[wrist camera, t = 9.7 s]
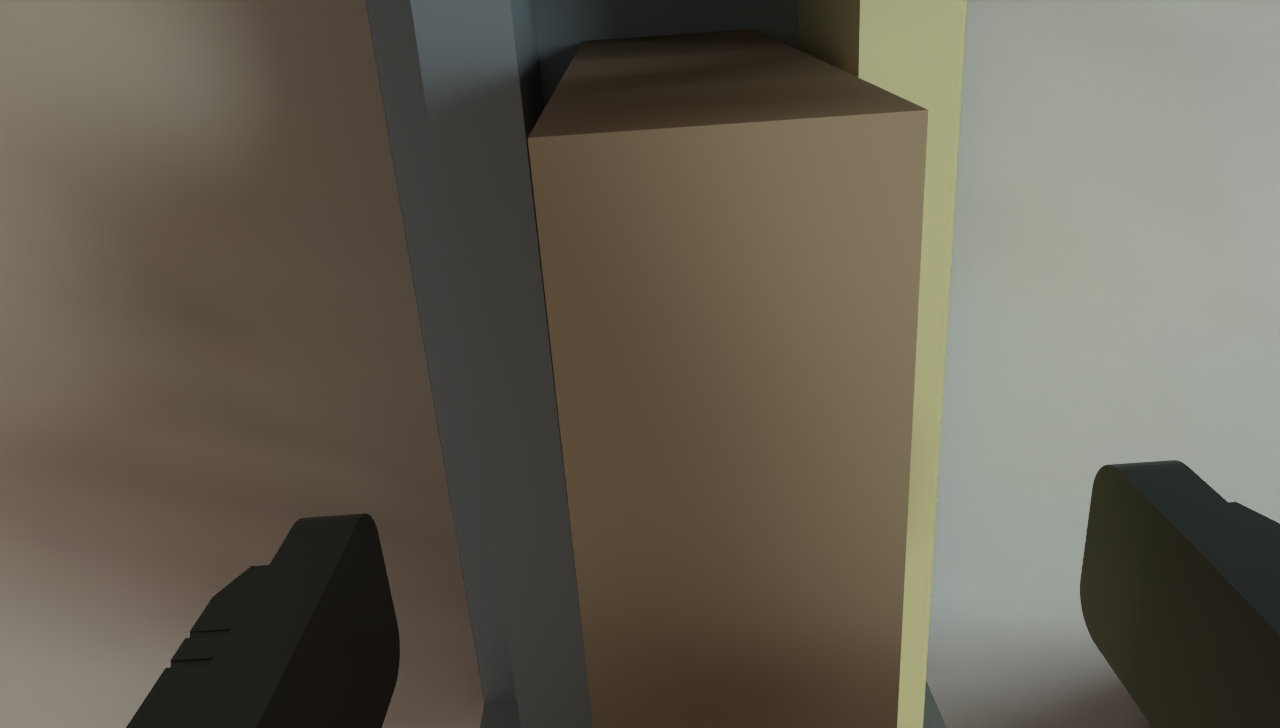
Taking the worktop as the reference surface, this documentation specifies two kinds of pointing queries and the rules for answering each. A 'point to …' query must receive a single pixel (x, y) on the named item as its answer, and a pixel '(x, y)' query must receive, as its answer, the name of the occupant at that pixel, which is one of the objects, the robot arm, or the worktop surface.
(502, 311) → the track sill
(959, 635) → the worktop surface
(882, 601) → the door panel
